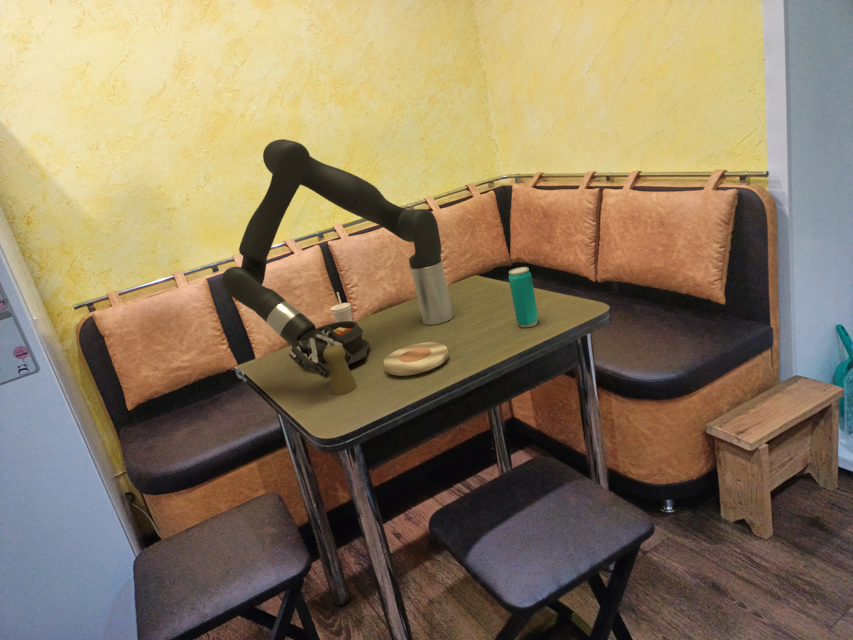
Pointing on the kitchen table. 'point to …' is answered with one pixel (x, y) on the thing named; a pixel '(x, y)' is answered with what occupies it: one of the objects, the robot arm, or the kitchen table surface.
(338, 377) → the brown pepper shaker
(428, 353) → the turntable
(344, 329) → the casserole
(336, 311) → the smoothie
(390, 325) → the kitchen table surface
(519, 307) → the beverage can
